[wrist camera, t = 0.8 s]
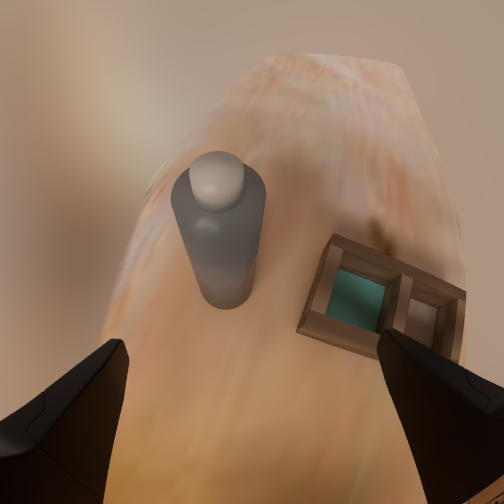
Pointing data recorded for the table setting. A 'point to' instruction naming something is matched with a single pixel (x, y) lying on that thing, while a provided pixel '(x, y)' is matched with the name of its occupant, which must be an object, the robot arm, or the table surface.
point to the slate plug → (220, 225)
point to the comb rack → (376, 300)
